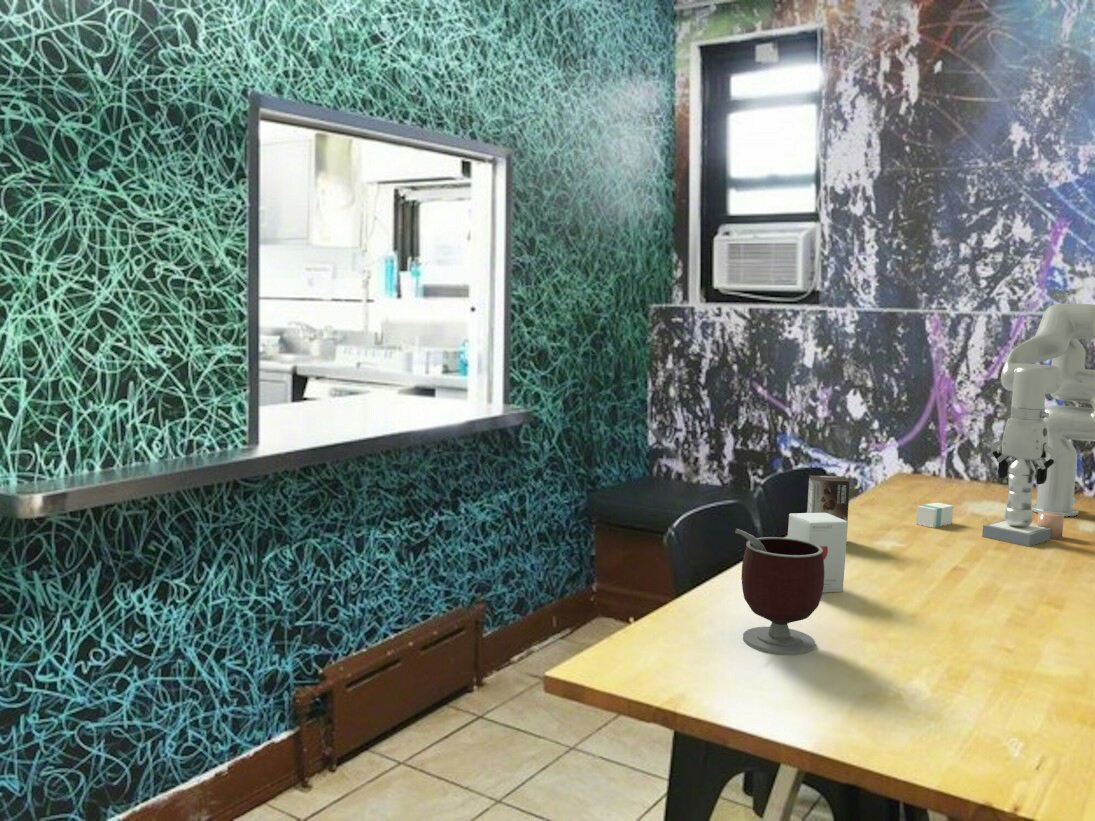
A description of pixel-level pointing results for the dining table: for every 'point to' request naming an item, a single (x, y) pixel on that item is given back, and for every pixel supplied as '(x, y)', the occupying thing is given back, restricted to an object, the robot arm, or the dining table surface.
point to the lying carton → (934, 514)
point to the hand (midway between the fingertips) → (1021, 480)
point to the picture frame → (1016, 533)
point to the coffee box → (829, 495)
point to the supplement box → (823, 543)
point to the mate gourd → (781, 590)
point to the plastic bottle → (1020, 493)
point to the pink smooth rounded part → (1052, 523)
